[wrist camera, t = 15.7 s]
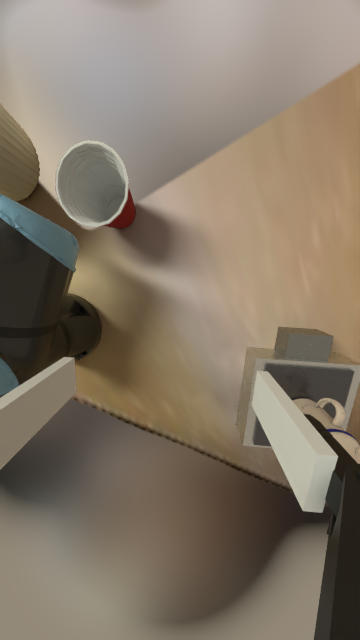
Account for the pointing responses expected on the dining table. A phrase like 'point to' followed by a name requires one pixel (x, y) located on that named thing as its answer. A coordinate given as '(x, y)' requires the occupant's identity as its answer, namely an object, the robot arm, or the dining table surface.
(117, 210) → the plastic cup
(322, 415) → the teacup with lid
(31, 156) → the canister
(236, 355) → the dining table surface
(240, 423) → the white flat block
